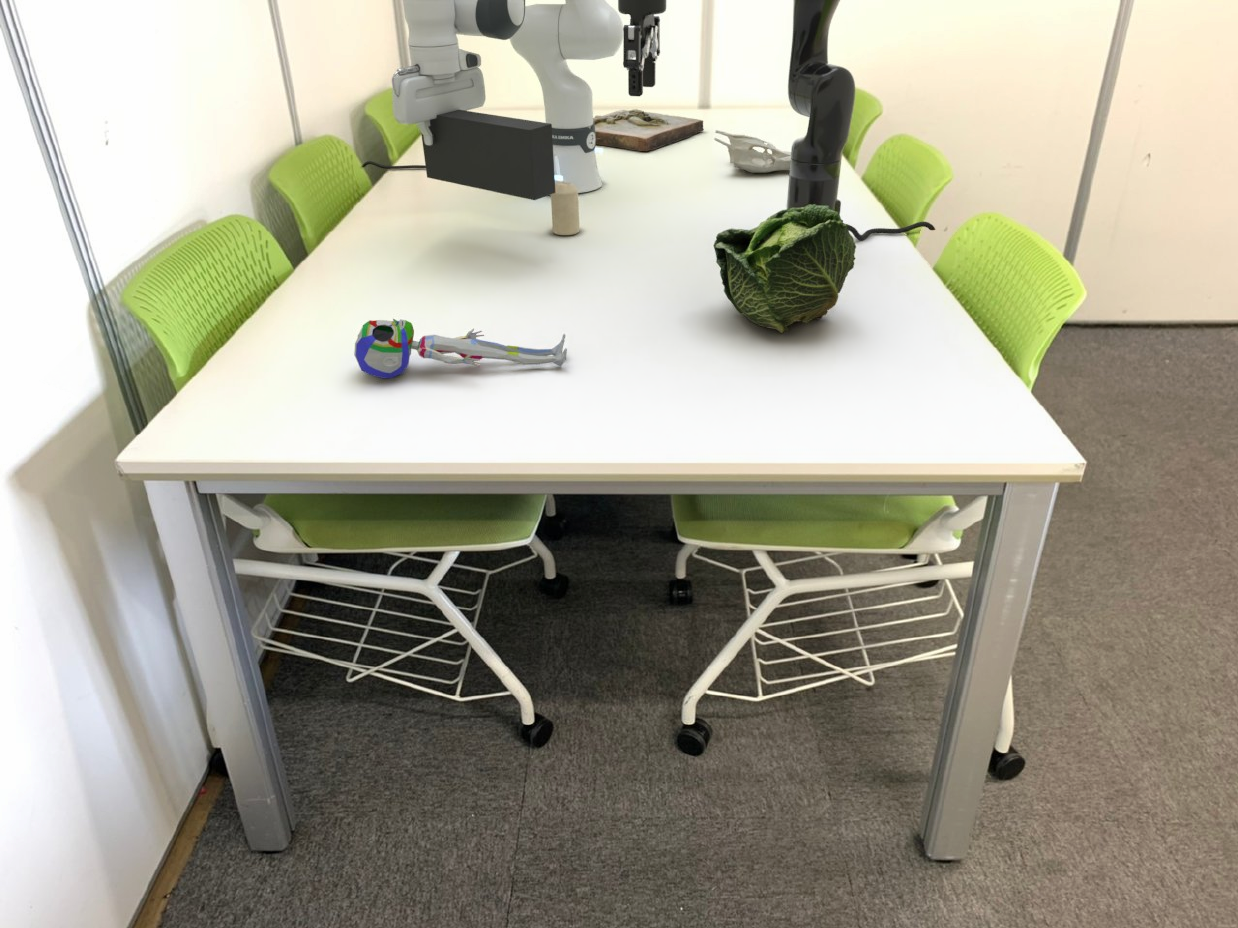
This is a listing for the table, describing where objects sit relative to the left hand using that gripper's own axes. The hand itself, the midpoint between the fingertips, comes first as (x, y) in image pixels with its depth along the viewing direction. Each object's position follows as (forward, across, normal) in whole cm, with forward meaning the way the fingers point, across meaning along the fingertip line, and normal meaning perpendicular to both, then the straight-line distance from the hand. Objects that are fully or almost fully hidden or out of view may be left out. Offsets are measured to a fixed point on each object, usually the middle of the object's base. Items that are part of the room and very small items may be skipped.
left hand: (445, 140), depth 169 cm
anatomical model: (+21, +84, -22) cm, 89 cm away
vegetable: (+20, +3, -72) cm, 74 cm away
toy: (+20, -39, -42) cm, 61 cm away
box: (+7, 0, -11) cm, 13 cm away
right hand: (-12, +7, -41) cm, 43 cm away
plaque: (+21, +97, +28) cm, 103 cm away
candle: (+20, +18, -13) cm, 30 cm away
